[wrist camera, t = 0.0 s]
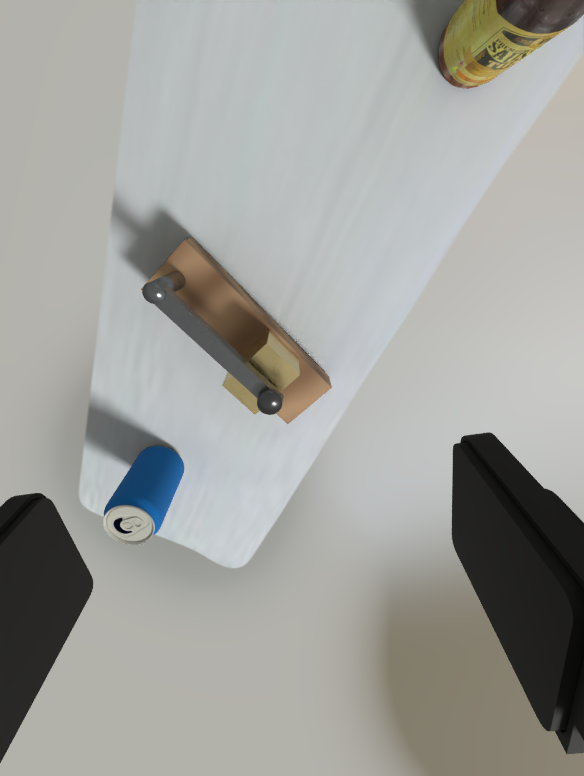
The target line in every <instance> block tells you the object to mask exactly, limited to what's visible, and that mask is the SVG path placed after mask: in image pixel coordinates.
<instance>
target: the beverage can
mask: <svg viewBox="0 0 584 776" xmlns="http://www.w3.org/2000/svg"><path fill="white" fill-rule="evenodd" d="M183 473H184V463H183V461H182V459H181V457H180V456H179V455H178V454H177V453H176V452H175V451H173V450H171V449H169V448H167V447H163V446H152V447H148V448H146V449H144V450H143V451H142V452H141V453H140V454H139V456H138V457H137V459H136V460H135V462H134V463H133V465H132V466H131V468H130V470H129V471H128V473H127V474H126V476H125V477H124V479H123V480H122V482H121V483H120V485H119V487H118V488H117V490H116V491H115V493H114V494H113V496H112V497H111V499H110V500H109V502H108V504H107V505H106V507H105V510H104V518H103V527H104V529H105V531H106V533H107V534H108V535H109V536H110V537H111V538H113V539H114V540H116V541H118V542H120V543H124V544H127V545H138V544H142V543H144V542H146V541H148V540H149V539H150V538H151V537H152V536H153V535H154V534H156V533H157V532H158V530H159V529H160V527H161V525H162V523H163V520H164V518H165V516H166V513H167V511H168V508H169V506H170V504H171V501H172V499H173V497H174V494H175V492H176V490H177V487H178V485H179V483H180V480H181V478H182V476H183Z"/></svg>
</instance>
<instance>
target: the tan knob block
mask: <svg viewBox="0 0 584 776" xmlns="http://www.w3.org/2000/svg"><path fill="white" fill-rule="evenodd" d="M242 356H243V357H244V358H245V359H246V360H247V361H248V362H249V363H250V364H251V365H252V366H253V367H254V368H255V369H257V370H258V371H259V372H260V373H261V374H262V375H263V376H264V377H265V378H266V379H267V380H268V381H269V382H270V383H271V384H272V385H273V386H274V387H276V388H277V389H278V390H279V391H280V392H281V391H282V390H284V389H285V388H286V387H287V386H288V385H289V384H290V383H292V382H293V381H294V380H295V379H296V378H297V377H298V376H300V371H299V358H298V357H297V356H296V355H295V354H294V353H293V352H292V351H291V350H290V349H289V348H288V347H287V346H286V345H285V344H284V343H283V342H282V341H281V340H280V339H279V338H278V337H277V336H276V335H275V334H274V333H273V332H272V331H271V330H269V331H268V332H267V333H265V334H264V335H263V336H262V337H261V338H260V339H259V340H258V341H257V342H256V343H255V344H254V345H253V346H252V347H251V348H250V349H249V350H248V351H247V352H245V353H244V354H243V355H242ZM222 386H224V387H225V388H226V389H227V390H228V391H229V392H230V393H231V394H233V395H234V396H235V397H236V398H237V399H238V400H239V401H240V402H241V403H243V404H244V405H245V406H246V407H247V408H248V409H249V410H250V411H252V412H253V413H254V414H256V413H257V412H258V411H260V410H259V408H258V406H257V398H256V397H255V396H254V395H253V394H252V393H251V392H250V391H249V390H248V389H246V388H245V387H244V386H243V385H242V384H241V383H240V382H239V381H238V380H237V379H236V378H234V377H233V376H232V375H231V374H230V373H229V372H228V373H227V375H226V377H225V380H224V382H223V384H222Z"/></svg>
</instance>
